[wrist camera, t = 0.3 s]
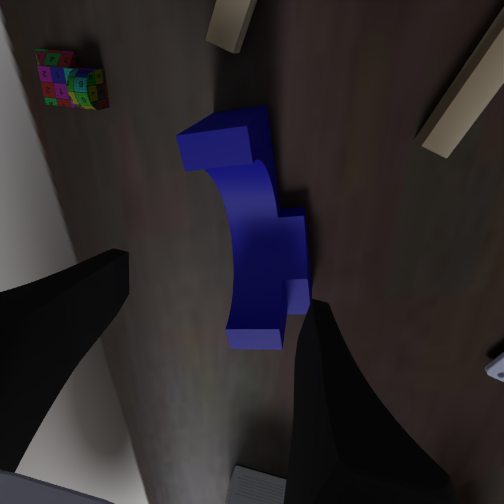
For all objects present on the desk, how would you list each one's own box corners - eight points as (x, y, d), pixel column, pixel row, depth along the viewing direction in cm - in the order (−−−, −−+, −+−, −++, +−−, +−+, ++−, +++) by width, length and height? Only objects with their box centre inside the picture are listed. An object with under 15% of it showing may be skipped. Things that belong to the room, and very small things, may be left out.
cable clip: (312, 285, 24) (309, 350, 19) (249, 287, 25) (230, 349, 20) (295, 100, 18) (285, 120, 13) (214, 112, 19) (176, 135, 14)
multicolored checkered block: (105, 50, 19) (79, 50, 17) (113, 106, 20) (89, 112, 18) (35, 44, 19) (1, 43, 17) (47, 99, 21) (18, 105, 19)
